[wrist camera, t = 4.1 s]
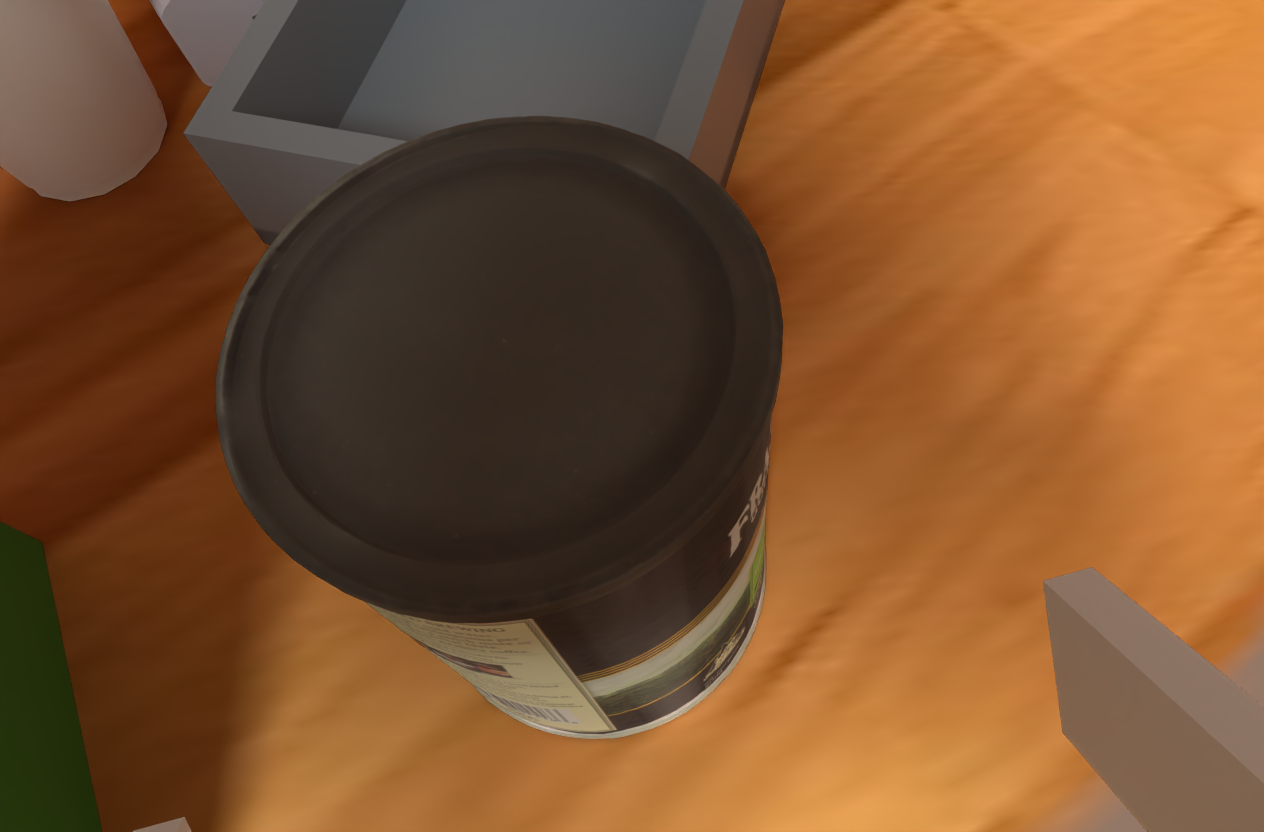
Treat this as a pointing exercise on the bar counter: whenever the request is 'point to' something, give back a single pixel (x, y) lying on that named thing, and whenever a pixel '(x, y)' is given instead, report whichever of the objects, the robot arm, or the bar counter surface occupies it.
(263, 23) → the tray
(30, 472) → the bar counter surface
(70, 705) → the hardback book
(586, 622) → the coffee can
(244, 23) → the charger
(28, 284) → the bar counter surface
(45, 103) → the foam cup
